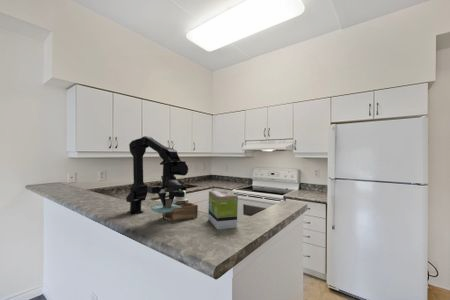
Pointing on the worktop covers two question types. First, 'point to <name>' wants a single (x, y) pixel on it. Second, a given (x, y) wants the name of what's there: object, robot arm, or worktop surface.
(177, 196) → the medicine bottle
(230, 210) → the tea box
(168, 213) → the box
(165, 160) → the robot arm
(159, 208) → the cover plate
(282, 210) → the worktop surface
